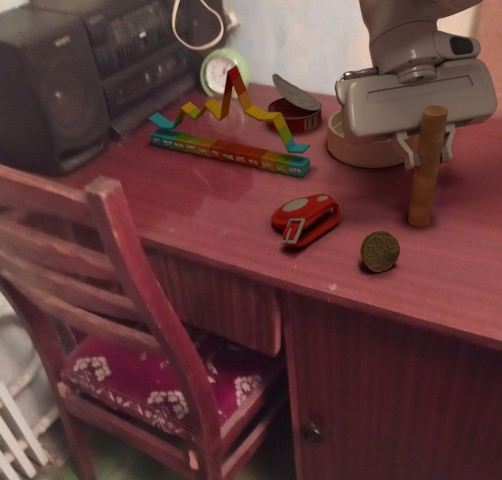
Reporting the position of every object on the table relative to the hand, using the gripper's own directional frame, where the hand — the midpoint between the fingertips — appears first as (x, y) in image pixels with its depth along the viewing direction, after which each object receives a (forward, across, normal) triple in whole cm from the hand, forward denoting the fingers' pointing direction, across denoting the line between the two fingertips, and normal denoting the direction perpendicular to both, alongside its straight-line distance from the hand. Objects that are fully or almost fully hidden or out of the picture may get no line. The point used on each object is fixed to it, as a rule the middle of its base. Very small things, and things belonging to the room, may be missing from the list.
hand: (429, 165), depth 76 cm
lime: (+12, -9, +1) cm, 15 cm away
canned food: (-20, -8, +33) cm, 40 cm away
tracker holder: (+4, -17, +9) cm, 19 cm away
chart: (-14, -22, +27) cm, 38 cm away
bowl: (-10, +2, +23) cm, 26 cm away
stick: (+6, 0, +7) cm, 9 cm away
